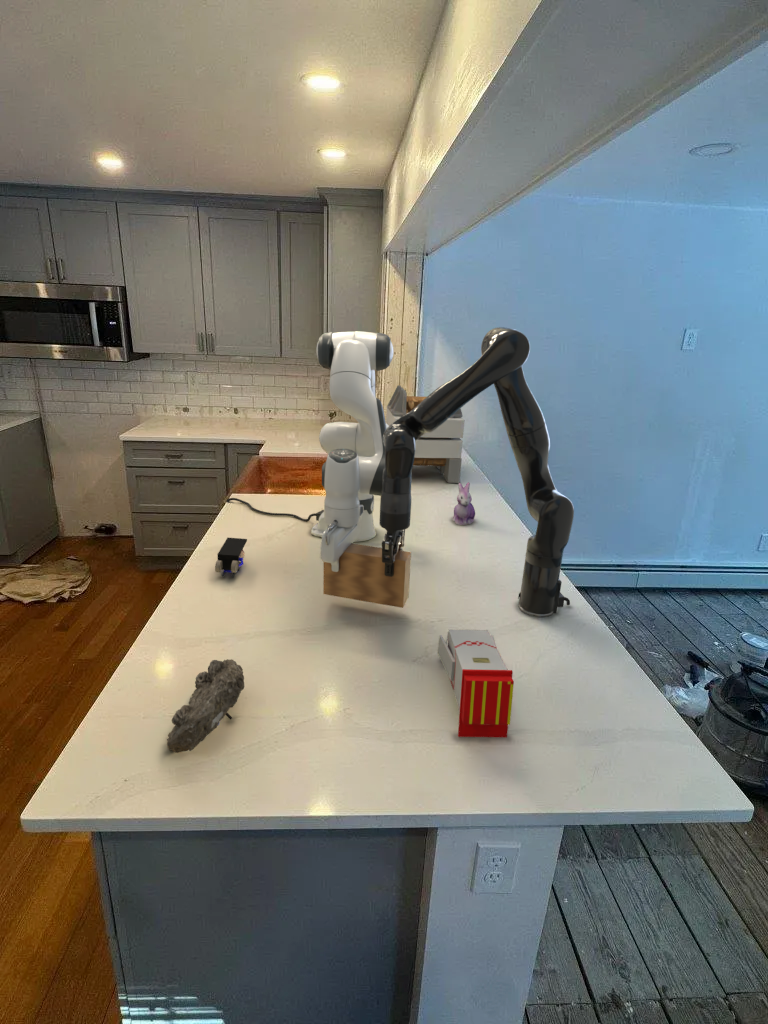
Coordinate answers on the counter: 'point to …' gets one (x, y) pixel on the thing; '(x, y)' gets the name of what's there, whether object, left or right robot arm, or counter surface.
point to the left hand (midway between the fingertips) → (340, 564)
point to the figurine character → (230, 556)
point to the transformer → (432, 437)
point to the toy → (478, 682)
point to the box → (368, 576)
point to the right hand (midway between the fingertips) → (392, 570)
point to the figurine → (464, 506)
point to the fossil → (206, 705)
